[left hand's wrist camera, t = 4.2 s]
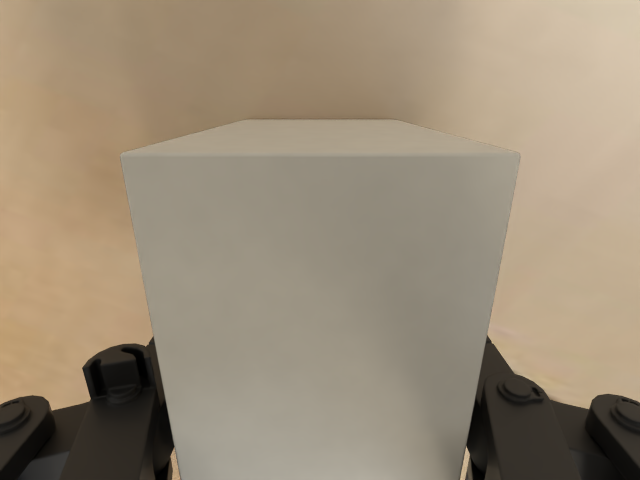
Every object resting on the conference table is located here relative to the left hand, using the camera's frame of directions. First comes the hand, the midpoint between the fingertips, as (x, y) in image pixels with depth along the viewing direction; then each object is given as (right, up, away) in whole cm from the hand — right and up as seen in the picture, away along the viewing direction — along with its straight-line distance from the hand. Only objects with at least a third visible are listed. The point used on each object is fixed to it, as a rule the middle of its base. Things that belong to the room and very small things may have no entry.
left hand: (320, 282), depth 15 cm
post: (0, -22, +9) cm, 23 cm away
